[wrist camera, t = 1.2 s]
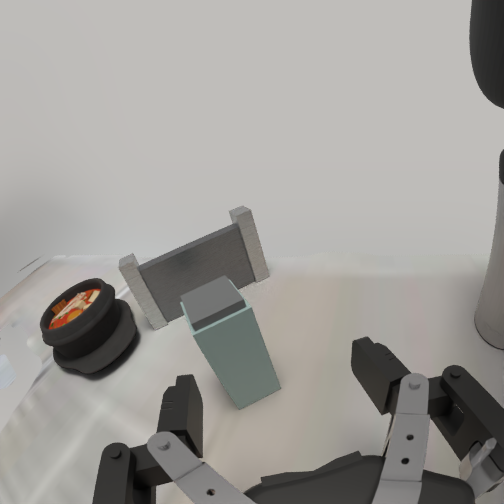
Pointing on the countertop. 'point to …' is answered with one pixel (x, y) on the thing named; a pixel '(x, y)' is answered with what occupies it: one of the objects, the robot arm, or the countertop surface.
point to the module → (230, 340)
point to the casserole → (88, 326)
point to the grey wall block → (196, 268)
